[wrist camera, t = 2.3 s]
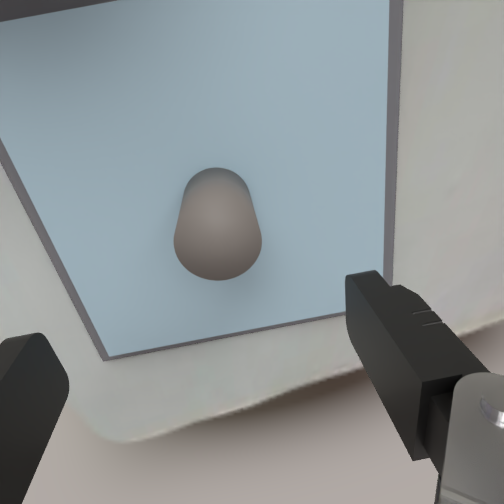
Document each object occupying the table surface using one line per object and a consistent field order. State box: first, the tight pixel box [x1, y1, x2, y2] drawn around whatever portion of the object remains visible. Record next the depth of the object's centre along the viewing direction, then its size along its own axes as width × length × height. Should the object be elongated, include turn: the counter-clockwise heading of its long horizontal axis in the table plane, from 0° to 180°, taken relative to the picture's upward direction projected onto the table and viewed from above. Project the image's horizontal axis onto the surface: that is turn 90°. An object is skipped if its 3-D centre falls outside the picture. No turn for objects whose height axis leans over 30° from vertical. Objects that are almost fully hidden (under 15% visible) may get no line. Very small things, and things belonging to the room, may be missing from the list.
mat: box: [0, 0, 403, 361], centre depth 19 cm, size 20×20×1 cm
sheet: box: [0, 0, 389, 357], centre depth 16 cm, size 18×18×6 cm
